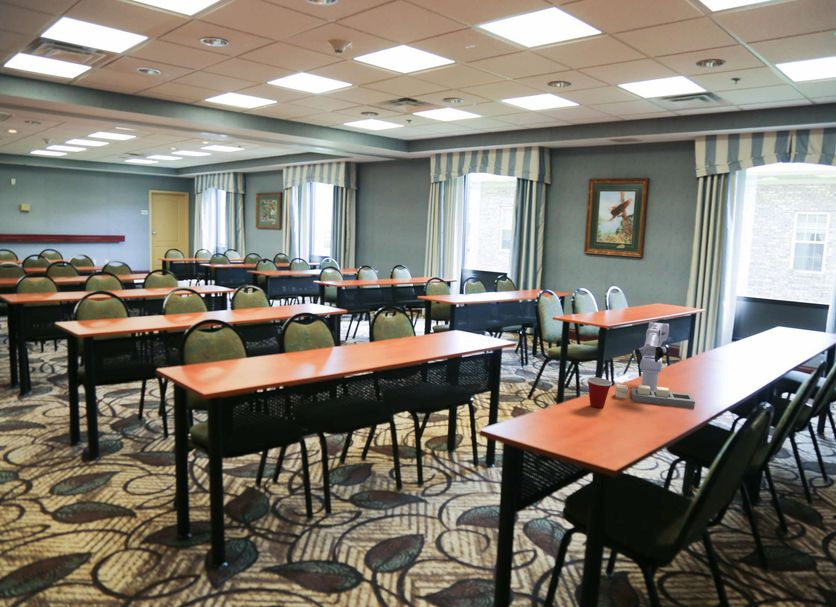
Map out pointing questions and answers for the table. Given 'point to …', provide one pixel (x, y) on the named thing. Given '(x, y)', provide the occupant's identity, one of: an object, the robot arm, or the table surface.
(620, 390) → the loose block
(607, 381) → the plastic cup
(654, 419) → the table surface
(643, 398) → the puzzle board
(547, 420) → the table surface
